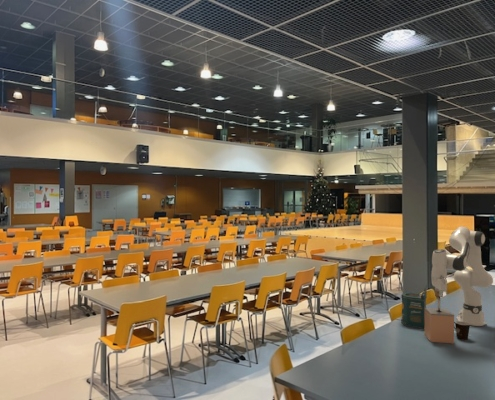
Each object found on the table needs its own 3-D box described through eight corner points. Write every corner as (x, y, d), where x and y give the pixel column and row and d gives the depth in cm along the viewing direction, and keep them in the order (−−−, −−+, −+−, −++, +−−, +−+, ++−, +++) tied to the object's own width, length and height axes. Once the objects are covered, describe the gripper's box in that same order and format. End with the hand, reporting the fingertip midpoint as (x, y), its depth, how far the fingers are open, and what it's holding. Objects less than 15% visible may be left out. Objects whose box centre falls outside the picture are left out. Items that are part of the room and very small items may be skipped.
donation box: (424, 328, 273) (424, 288, 273) (400, 324, 281) (400, 286, 281) (426, 322, 287) (426, 285, 287) (403, 319, 295) (403, 282, 295)
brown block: (424, 334, 259) (424, 307, 260) (446, 336, 257) (446, 309, 257) (430, 341, 245) (430, 313, 246) (453, 343, 243) (454, 314, 243)
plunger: (428, 315, 257) (428, 289, 257) (444, 316, 255) (444, 290, 256) (432, 320, 247) (433, 293, 248) (449, 321, 245) (449, 293, 246)
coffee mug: (471, 341, 248) (471, 325, 248) (457, 339, 249) (457, 324, 250) (465, 335, 259) (465, 320, 259) (451, 334, 261) (451, 319, 261)
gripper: (449, 277, 241) (449, 299, 241) (439, 272, 261) (439, 292, 261) (439, 276, 242) (438, 298, 242) (429, 271, 262) (429, 291, 262)
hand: (439, 295), depth 252 cm, fingers closed on plunger, 4 cm apart
